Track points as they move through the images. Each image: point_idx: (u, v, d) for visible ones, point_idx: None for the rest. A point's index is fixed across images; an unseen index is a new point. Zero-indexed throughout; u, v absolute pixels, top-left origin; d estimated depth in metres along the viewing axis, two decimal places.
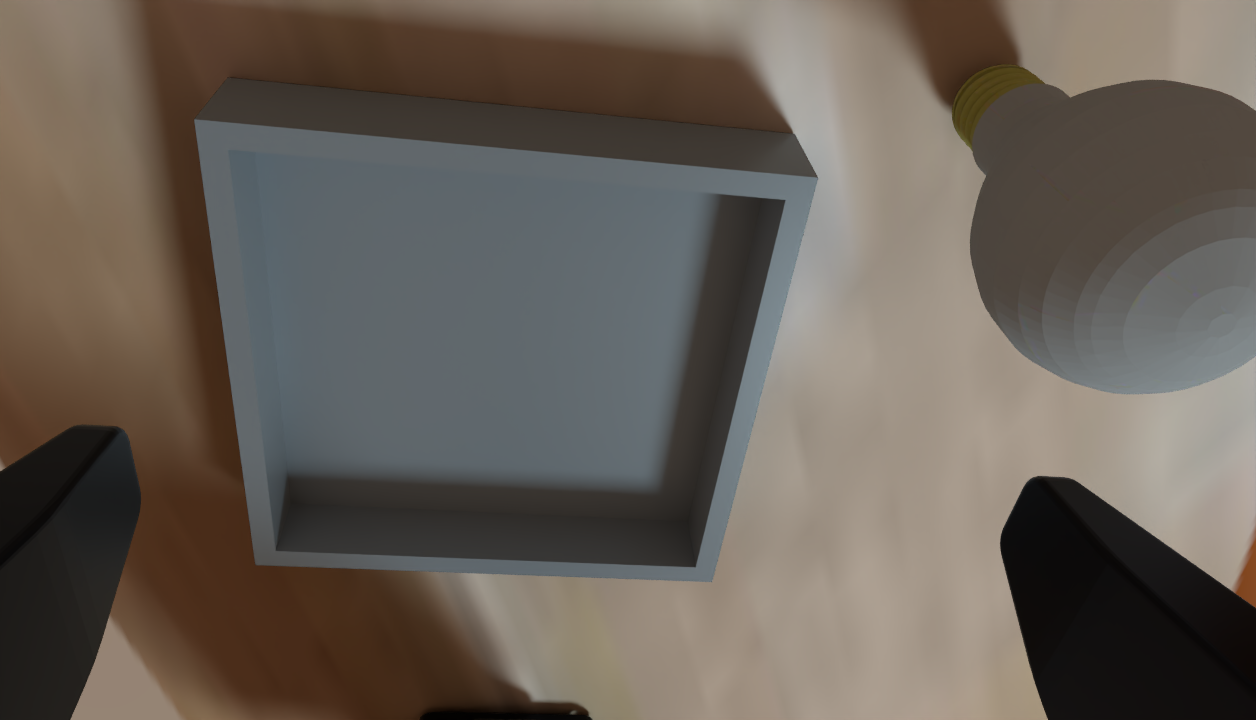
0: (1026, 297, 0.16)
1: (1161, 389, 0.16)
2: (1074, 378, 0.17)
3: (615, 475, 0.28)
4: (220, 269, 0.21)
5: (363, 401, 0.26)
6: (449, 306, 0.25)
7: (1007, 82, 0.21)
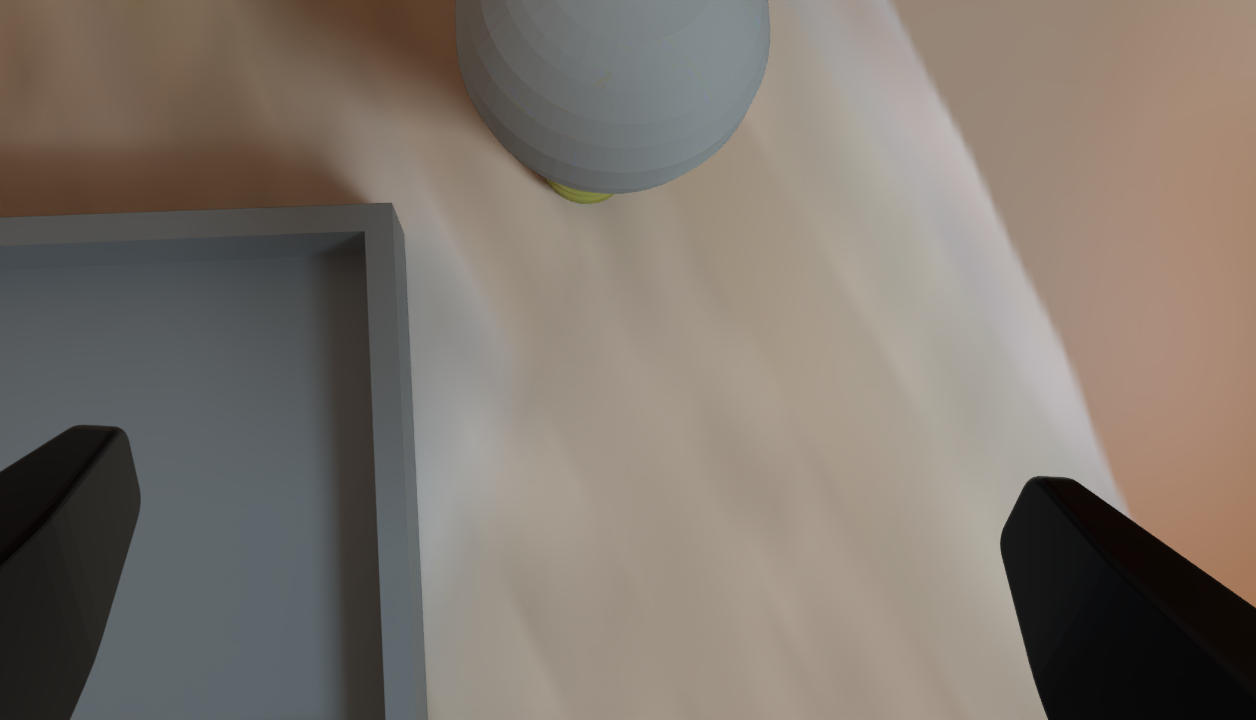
0: (477, 36, 0.15)
1: (646, 71, 0.14)
2: (566, 108, 0.15)
3: (278, 719, 0.21)
4: None
5: None
6: None
7: None
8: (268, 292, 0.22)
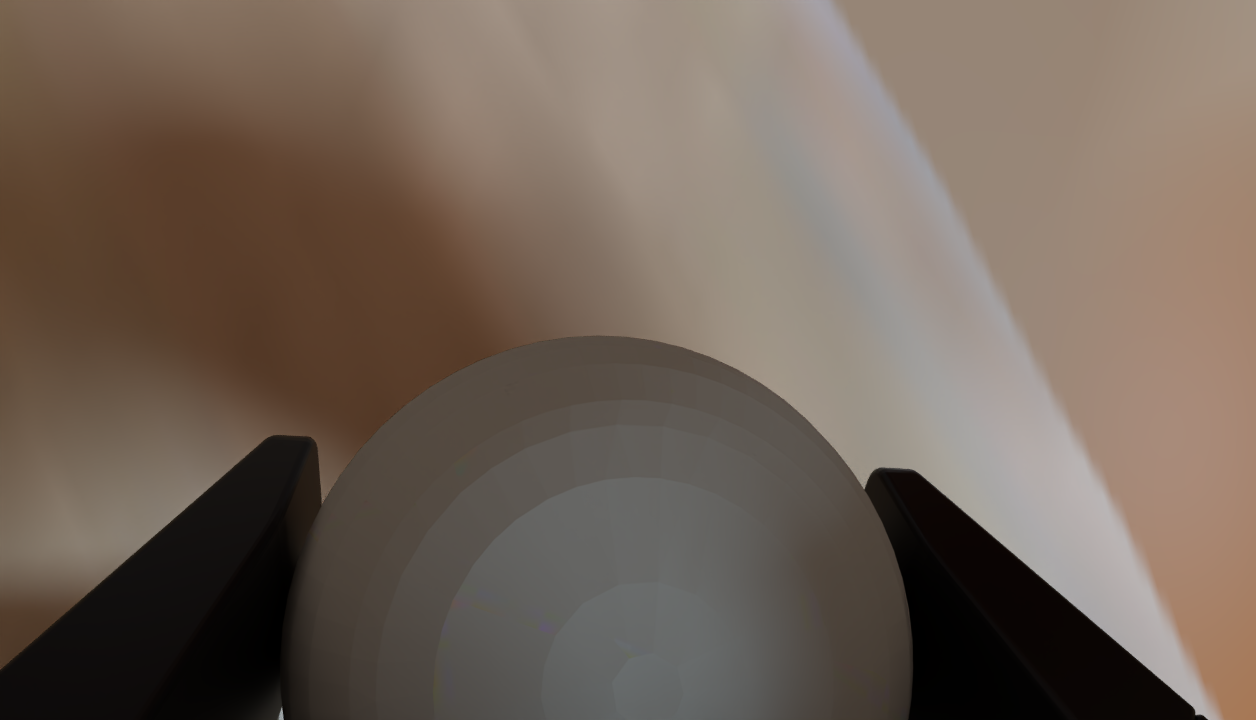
0: None
1: None
2: None
3: None
4: None
5: None
6: None
7: None
8: None
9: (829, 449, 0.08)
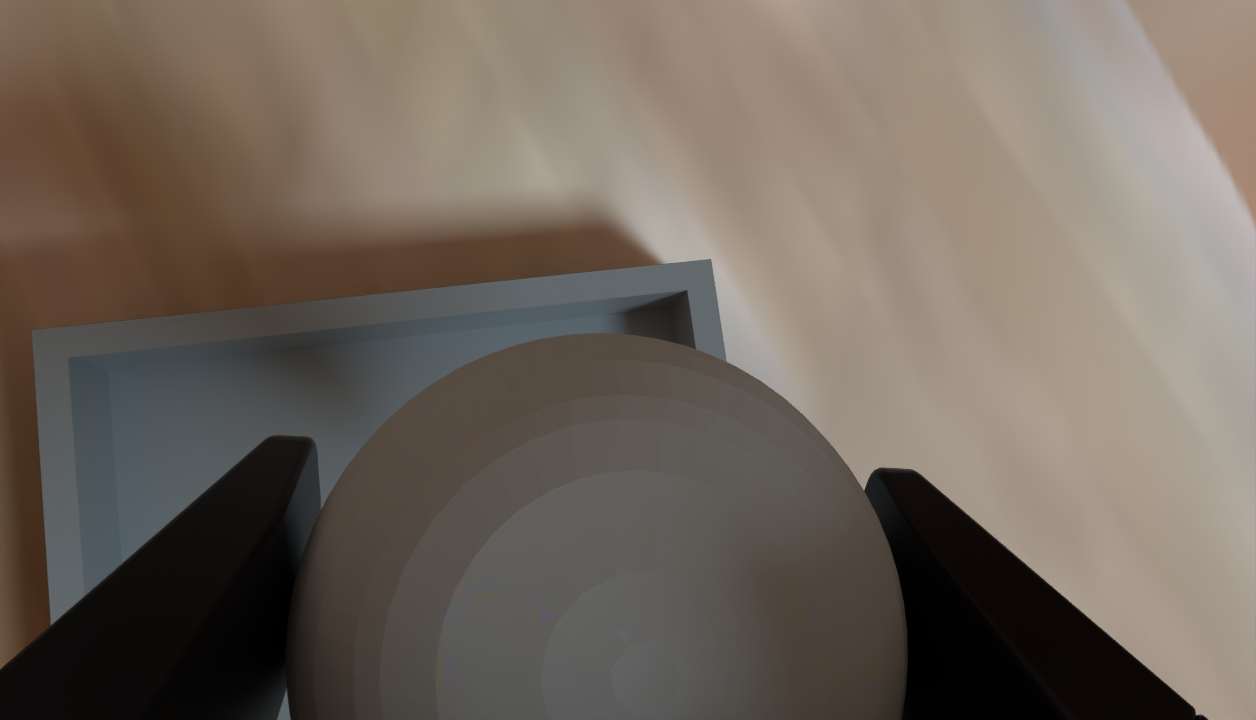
0: None
1: None
2: None
3: None
4: (51, 517, 0.18)
5: None
6: None
7: None
8: None
9: (826, 445, 0.08)
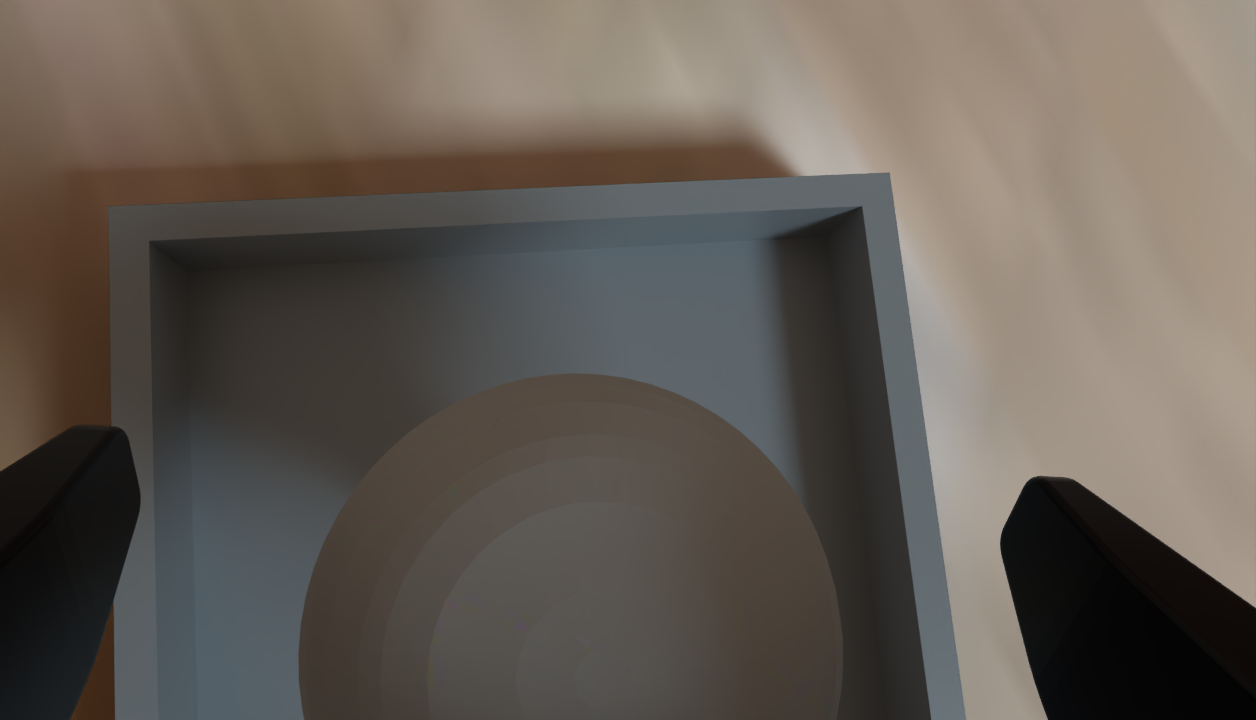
0: None
1: None
2: None
3: None
4: (119, 425, 0.15)
5: None
6: None
7: None
8: (709, 283, 0.18)
9: (772, 476, 0.09)
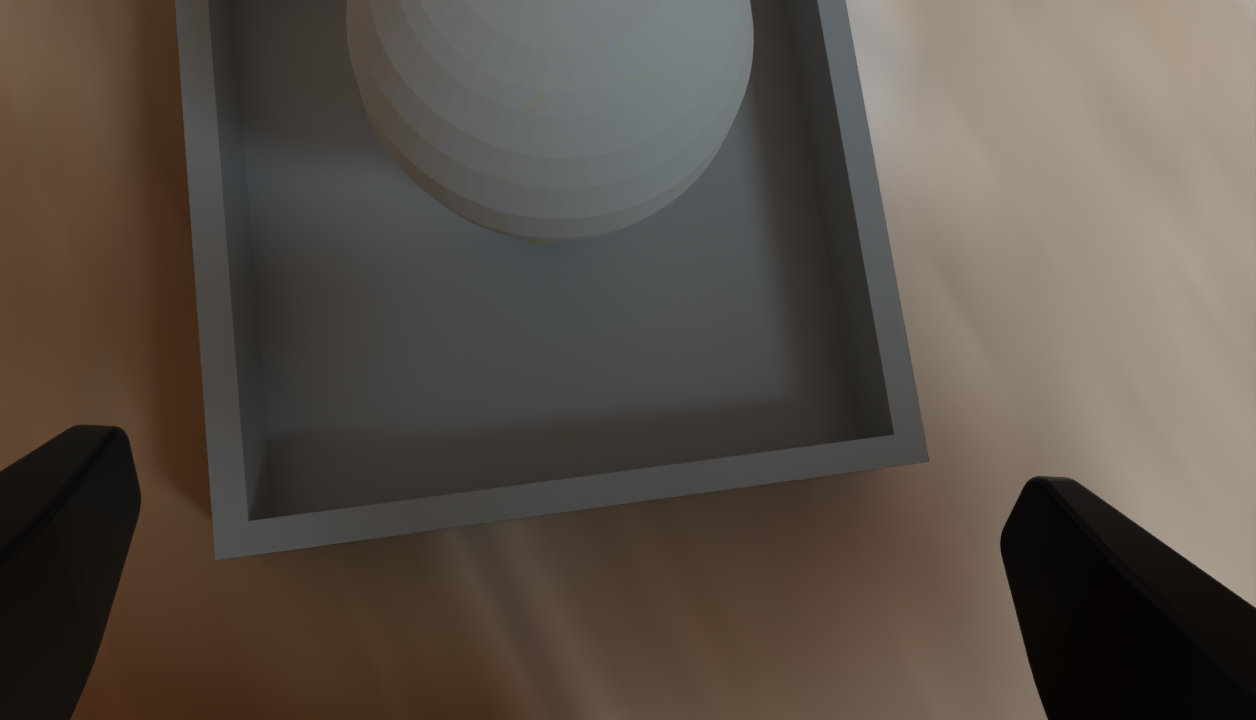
0: (370, 51, 0.12)
1: (589, 88, 0.11)
2: (488, 141, 0.11)
3: (733, 373, 0.20)
4: (184, 41, 0.18)
5: (371, 308, 0.20)
6: None
7: None
8: None
9: None
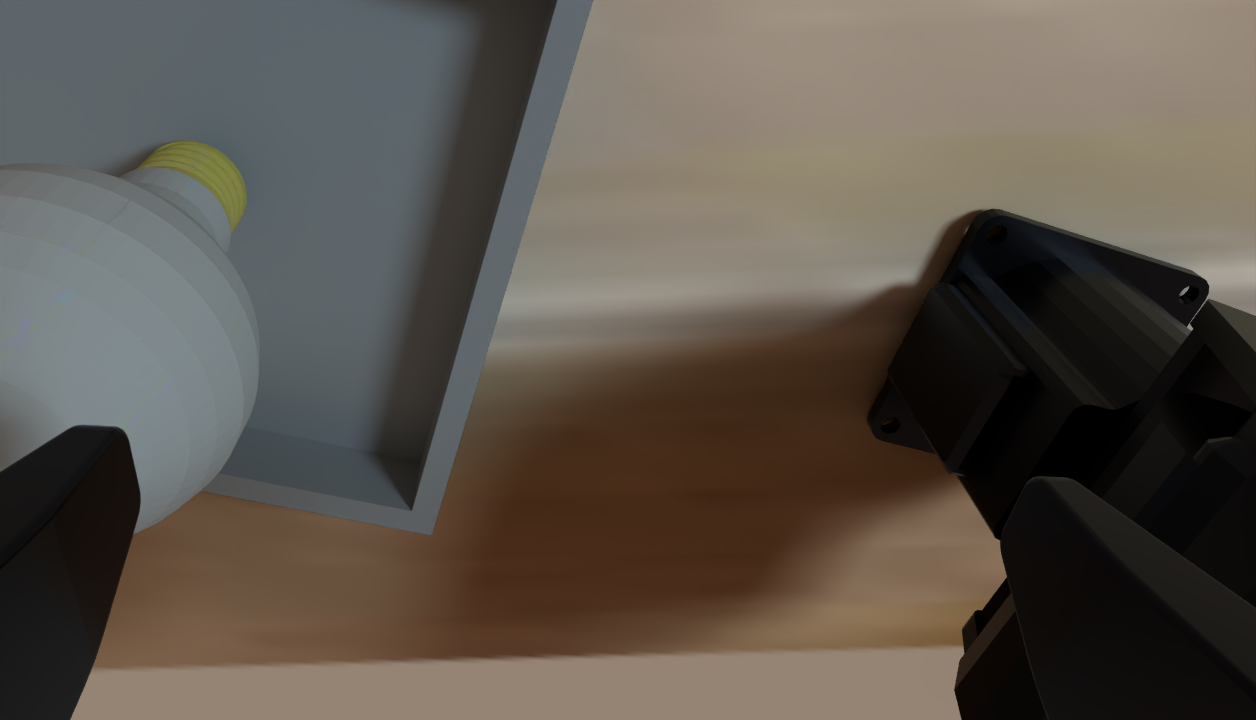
0: None
1: None
2: (158, 515, 0.13)
3: (435, 74, 0.19)
4: None
5: (267, 350, 0.22)
6: None
7: None
8: None
9: None
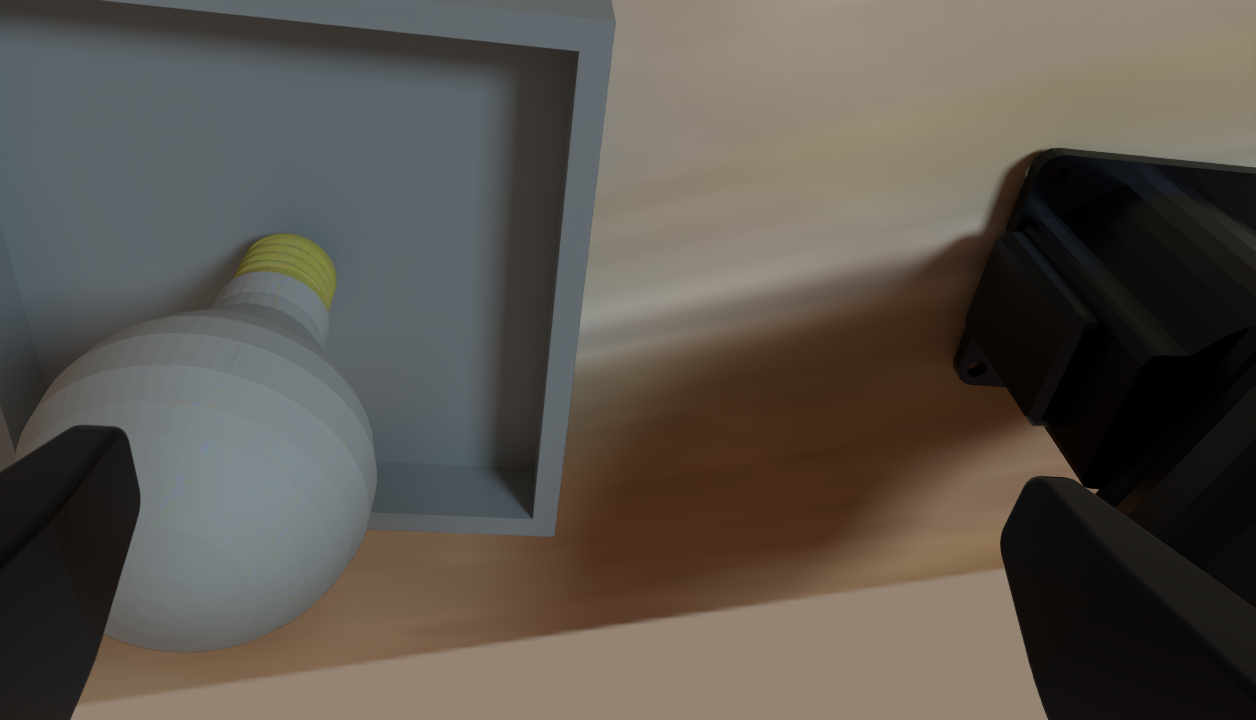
0: None
1: (284, 576, 0.14)
2: (316, 599, 0.15)
3: (481, 131, 0.20)
4: None
5: (381, 395, 0.24)
6: None
7: None
8: (4, 83, 0.19)
9: (59, 432, 0.14)
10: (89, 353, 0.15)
